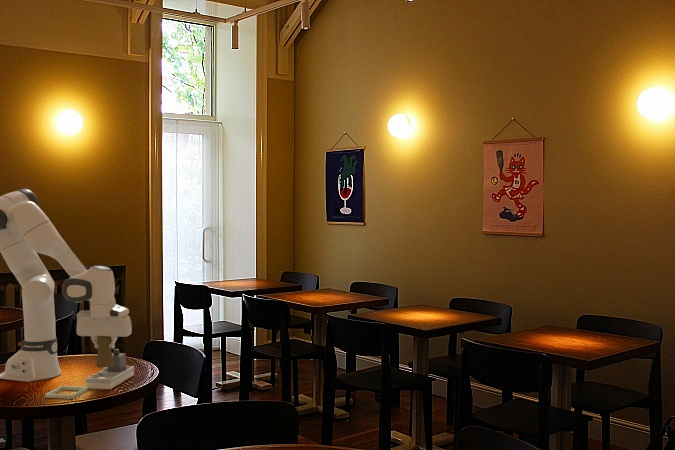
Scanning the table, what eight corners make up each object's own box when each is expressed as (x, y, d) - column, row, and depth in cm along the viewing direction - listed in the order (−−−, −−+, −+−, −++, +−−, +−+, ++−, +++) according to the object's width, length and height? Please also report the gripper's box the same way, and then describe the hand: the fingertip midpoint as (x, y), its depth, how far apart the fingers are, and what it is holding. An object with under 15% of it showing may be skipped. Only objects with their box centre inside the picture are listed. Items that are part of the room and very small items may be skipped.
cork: (99, 363, 266) (98, 334, 265) (116, 363, 265) (114, 333, 265) (93, 367, 260) (92, 337, 259) (110, 367, 259) (109, 337, 259)
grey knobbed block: (107, 374, 270) (106, 350, 270) (113, 371, 275) (113, 347, 275) (120, 374, 269) (119, 351, 269) (126, 371, 274) (125, 348, 274)
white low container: (85, 388, 259) (84, 377, 259) (110, 374, 278) (109, 364, 278) (111, 389, 258) (110, 378, 257) (134, 375, 276) (134, 365, 276)
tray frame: (45, 397, 248) (45, 394, 248) (61, 389, 258) (61, 385, 258) (72, 398, 247) (72, 395, 246) (87, 390, 257) (87, 387, 257)
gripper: (72, 311, 260) (73, 349, 261) (125, 312, 257) (126, 350, 258) (81, 308, 266) (82, 345, 267) (133, 309, 263) (134, 346, 264)
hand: (104, 348), depth 262 cm, fingers closed on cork, 4 cm apart
